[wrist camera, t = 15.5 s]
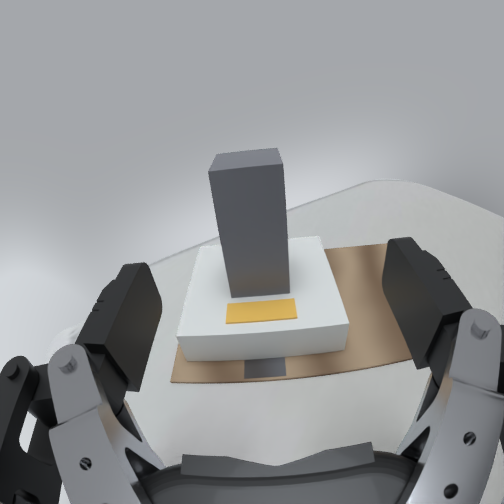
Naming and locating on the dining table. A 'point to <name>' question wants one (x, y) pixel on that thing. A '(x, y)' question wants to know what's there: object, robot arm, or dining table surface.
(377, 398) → the dining table surface
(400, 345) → the subfloor panel
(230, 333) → the block on square base
